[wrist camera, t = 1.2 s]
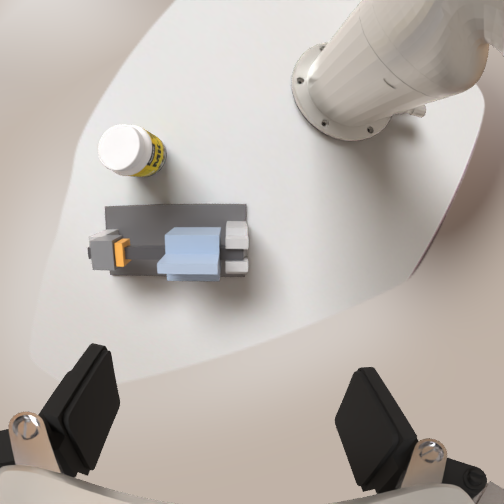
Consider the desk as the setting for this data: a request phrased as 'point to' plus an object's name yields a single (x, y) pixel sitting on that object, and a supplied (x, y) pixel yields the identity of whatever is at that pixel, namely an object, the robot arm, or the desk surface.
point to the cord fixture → (153, 236)
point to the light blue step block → (192, 254)
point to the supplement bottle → (131, 151)
